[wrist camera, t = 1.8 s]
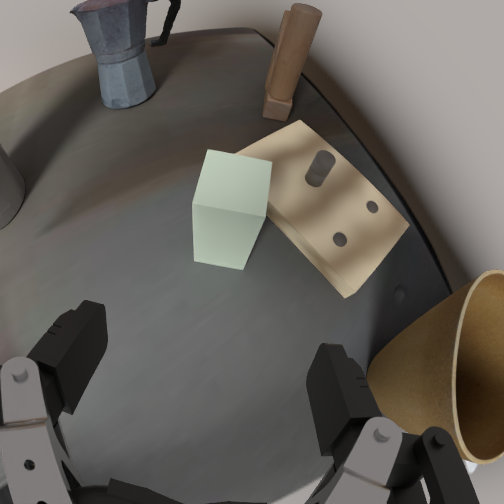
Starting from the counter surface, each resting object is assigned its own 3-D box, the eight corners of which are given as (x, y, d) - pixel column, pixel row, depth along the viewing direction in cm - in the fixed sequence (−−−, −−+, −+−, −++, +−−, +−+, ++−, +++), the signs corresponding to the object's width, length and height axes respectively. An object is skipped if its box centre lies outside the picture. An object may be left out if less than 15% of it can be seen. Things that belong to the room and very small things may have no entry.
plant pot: (360, 463, 23) (467, 503, 9) (315, 347, 28) (422, 319, 13) (448, 396, 27) (549, 386, 13) (414, 296, 32) (513, 246, 17)
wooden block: (286, 84, 43) (316, -5, 27) (286, 123, 39) (325, 17, 23) (265, 80, 43) (290, -12, 27) (261, 118, 39) (293, 8, 22)
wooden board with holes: (223, 172, 34) (229, 134, 28) (295, 131, 39) (308, 98, 33) (344, 298, 30) (376, 280, 24) (399, 233, 35) (428, 209, 29)
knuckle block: (194, 261, 29) (192, 203, 19) (203, 218, 31) (207, 149, 21) (243, 270, 30) (265, 217, 20) (249, 226, 32) (272, 161, 22)
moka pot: (95, 80, 38) (80, -19, 20) (182, 74, 41) (188, -33, 22) (78, 116, 34) (49, 3, 16) (175, 109, 37) (178, -20, 19)
